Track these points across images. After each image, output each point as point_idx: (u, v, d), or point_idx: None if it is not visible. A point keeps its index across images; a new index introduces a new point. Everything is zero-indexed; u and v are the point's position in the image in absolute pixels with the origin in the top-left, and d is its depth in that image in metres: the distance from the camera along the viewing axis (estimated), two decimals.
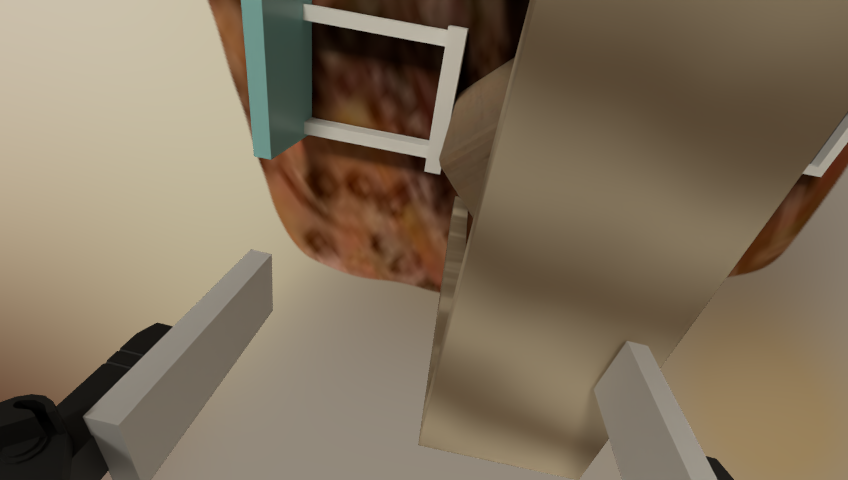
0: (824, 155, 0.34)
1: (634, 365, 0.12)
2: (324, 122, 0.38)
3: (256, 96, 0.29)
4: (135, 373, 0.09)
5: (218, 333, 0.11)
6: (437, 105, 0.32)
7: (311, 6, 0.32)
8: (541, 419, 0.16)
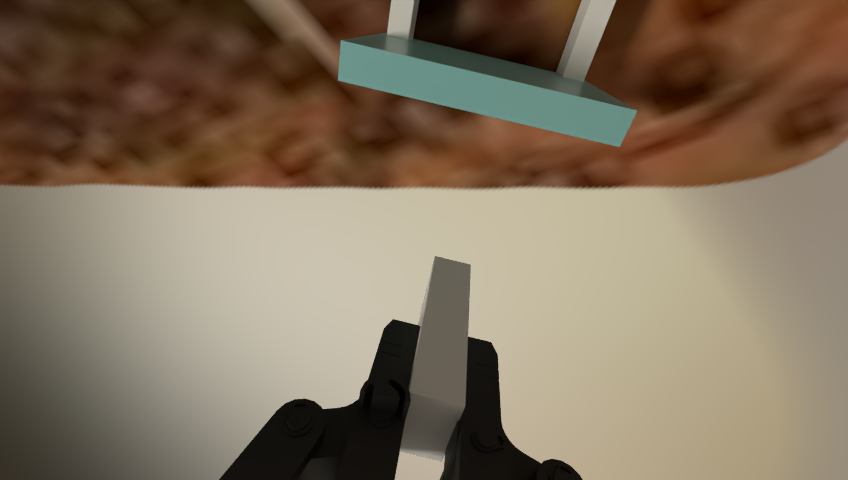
0: None
1: (450, 277, 0.14)
2: (569, 42, 0.21)
3: (508, 103, 0.15)
4: (422, 359, 0.10)
5: None
6: None
7: (391, 19, 0.20)
8: None
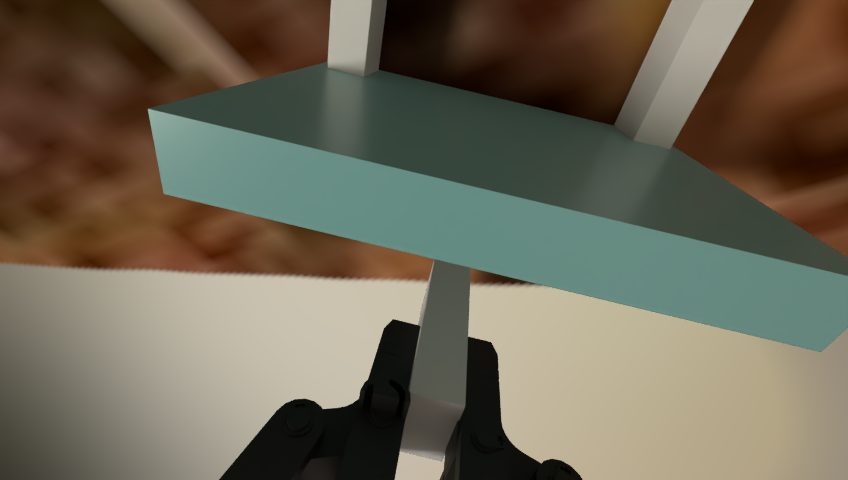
0: None
1: (449, 277, 0.14)
2: (645, 79, 0.12)
3: (559, 256, 0.06)
4: (422, 359, 0.10)
5: None
6: None
7: (332, 41, 0.11)
8: None
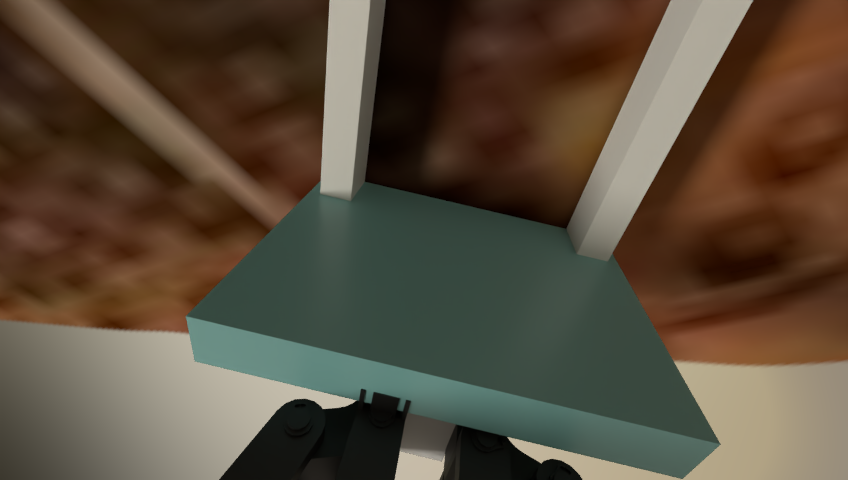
0: None
1: None
2: (587, 201, 0.14)
3: (485, 413, 0.09)
4: None
5: None
6: None
7: (324, 175, 0.14)
8: None
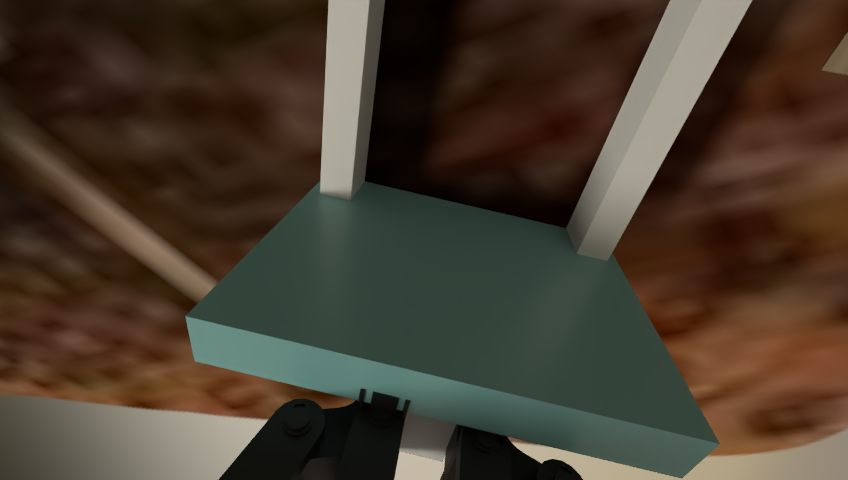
0: None
1: None
2: (587, 201, 0.14)
3: (485, 413, 0.09)
4: None
5: None
6: None
7: (323, 175, 0.14)
8: None
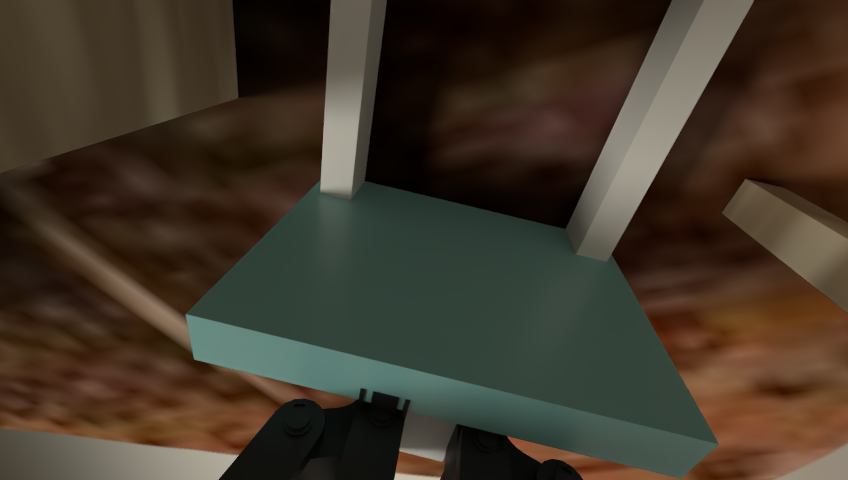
0: None
1: None
2: (586, 201, 0.14)
3: (485, 413, 0.09)
4: None
5: None
6: None
7: (324, 174, 0.14)
8: None
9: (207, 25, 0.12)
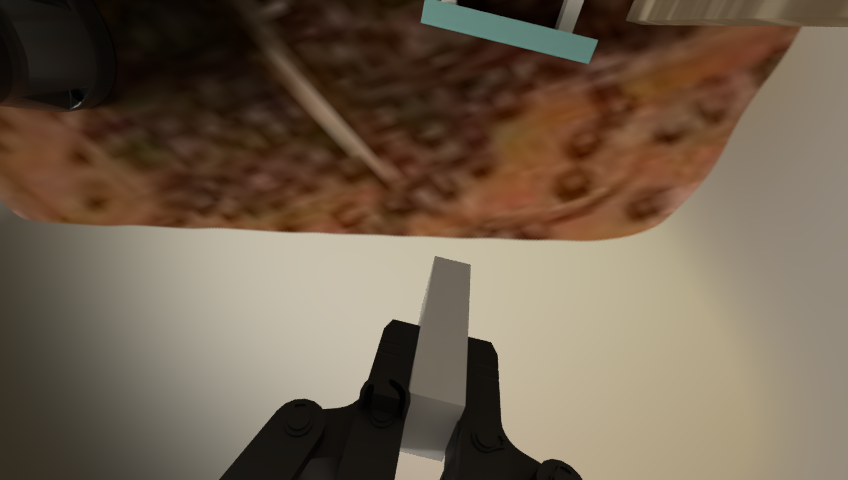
0: None
1: (450, 277, 0.14)
2: (562, 9, 0.31)
3: (522, 36, 0.25)
4: (422, 360, 0.10)
5: None
6: None
7: None
8: None
9: None
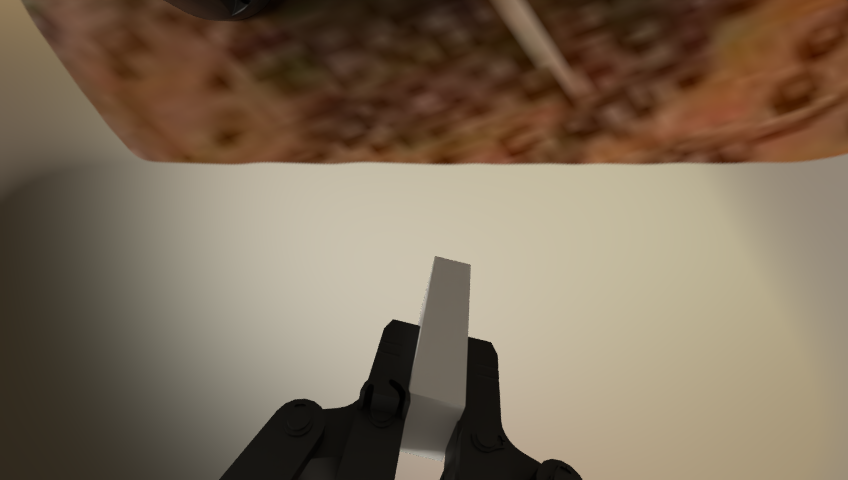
0: None
1: (450, 277, 0.14)
2: None
3: None
4: (422, 359, 0.10)
5: None
6: None
7: None
8: None
9: None
